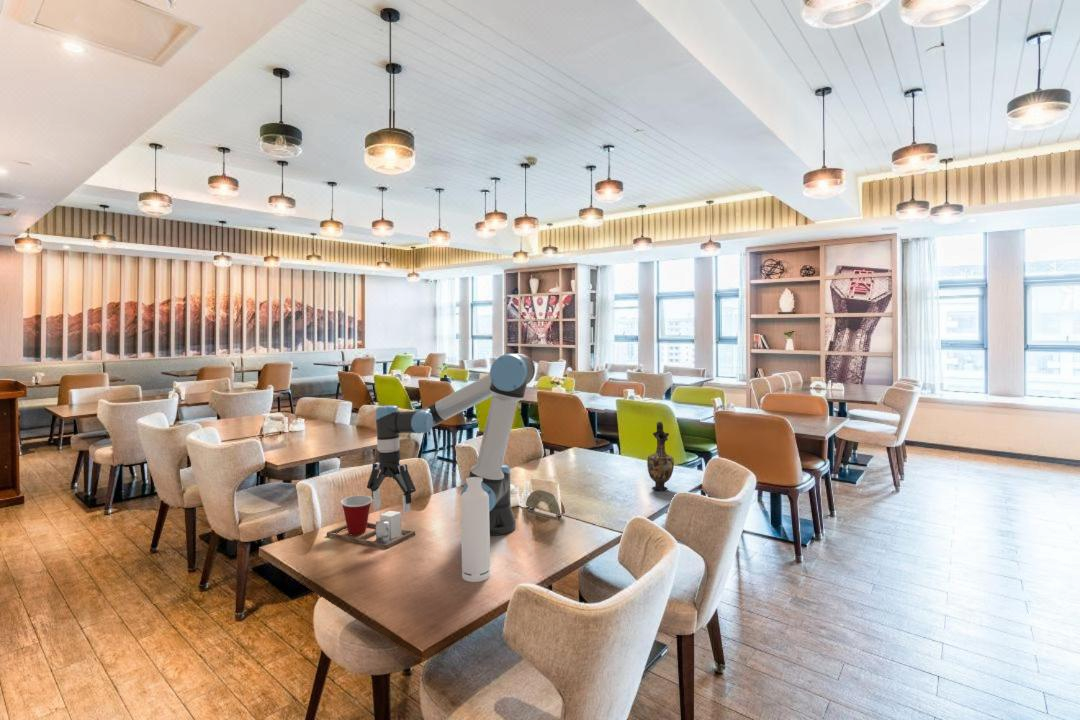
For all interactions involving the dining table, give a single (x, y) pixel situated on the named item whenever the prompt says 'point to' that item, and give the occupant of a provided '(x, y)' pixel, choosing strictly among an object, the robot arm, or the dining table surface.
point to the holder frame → (362, 538)
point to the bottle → (475, 531)
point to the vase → (660, 461)
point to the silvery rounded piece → (383, 531)
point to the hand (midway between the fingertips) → (391, 510)
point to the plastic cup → (356, 513)
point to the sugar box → (393, 523)
